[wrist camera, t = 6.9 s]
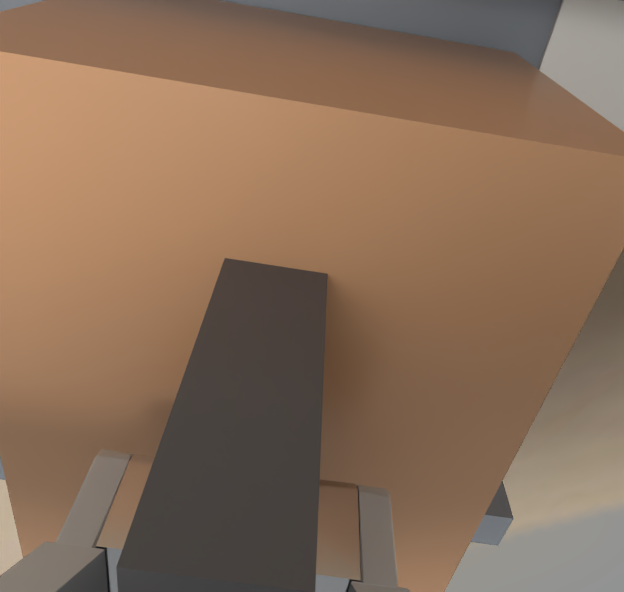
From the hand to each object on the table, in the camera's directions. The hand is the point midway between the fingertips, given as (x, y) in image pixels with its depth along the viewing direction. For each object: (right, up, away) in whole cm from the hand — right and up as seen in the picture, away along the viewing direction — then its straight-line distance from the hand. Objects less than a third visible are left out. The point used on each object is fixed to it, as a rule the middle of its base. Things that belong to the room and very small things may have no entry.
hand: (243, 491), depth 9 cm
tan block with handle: (0, +5, +8) cm, 10 cm away
